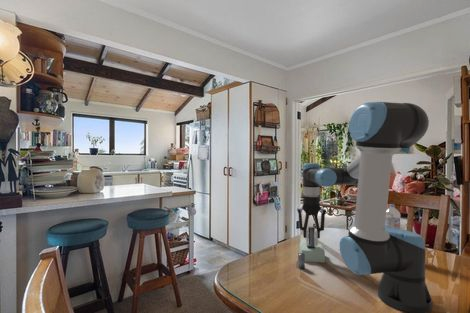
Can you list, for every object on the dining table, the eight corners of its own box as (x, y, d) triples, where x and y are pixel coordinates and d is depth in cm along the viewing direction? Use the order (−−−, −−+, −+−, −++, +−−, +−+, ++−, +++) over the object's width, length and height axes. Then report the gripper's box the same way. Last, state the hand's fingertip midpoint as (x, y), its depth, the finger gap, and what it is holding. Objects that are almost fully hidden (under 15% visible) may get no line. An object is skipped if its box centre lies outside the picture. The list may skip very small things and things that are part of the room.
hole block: (324, 262, 114) (324, 251, 114) (302, 261, 115) (301, 250, 115) (320, 253, 123) (320, 243, 123) (299, 252, 125) (299, 242, 125)
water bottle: (395, 254, 123) (395, 203, 123) (403, 260, 116) (403, 205, 116) (381, 253, 123) (380, 203, 123) (388, 259, 116) (388, 205, 116)
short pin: (305, 269, 107) (305, 255, 107) (298, 269, 107) (298, 255, 107) (304, 266, 110) (304, 252, 109) (297, 266, 110) (297, 252, 110)
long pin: (315, 258, 118) (315, 228, 118) (309, 258, 118) (308, 228, 118) (314, 255, 120) (314, 226, 120) (308, 255, 121) (308, 226, 121)
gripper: (327, 194, 122) (328, 242, 122) (292, 194, 124) (292, 241, 124) (331, 197, 114) (331, 248, 114) (294, 196, 117) (294, 246, 117)
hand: (311, 244), depth 119 cm, fingers open, 4 cm apart
